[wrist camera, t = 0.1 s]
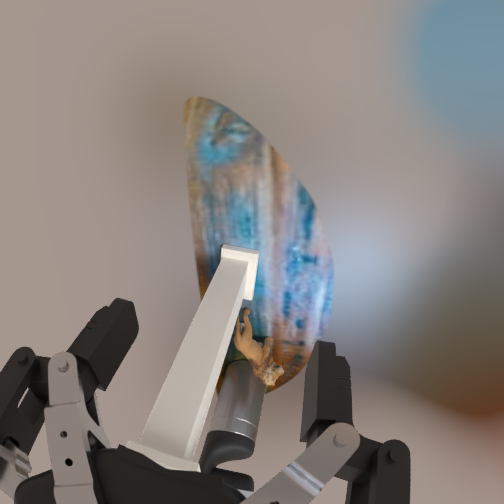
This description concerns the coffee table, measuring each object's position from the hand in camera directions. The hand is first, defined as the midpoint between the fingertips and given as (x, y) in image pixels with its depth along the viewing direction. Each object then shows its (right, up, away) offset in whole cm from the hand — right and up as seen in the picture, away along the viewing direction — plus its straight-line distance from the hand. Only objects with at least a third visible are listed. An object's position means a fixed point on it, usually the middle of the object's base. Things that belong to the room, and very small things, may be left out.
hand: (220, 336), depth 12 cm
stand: (-1, 0, +34) cm, 35 cm away
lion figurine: (+3, -11, +41) cm, 43 cm away
